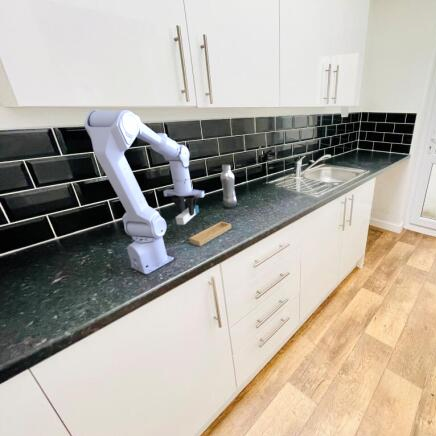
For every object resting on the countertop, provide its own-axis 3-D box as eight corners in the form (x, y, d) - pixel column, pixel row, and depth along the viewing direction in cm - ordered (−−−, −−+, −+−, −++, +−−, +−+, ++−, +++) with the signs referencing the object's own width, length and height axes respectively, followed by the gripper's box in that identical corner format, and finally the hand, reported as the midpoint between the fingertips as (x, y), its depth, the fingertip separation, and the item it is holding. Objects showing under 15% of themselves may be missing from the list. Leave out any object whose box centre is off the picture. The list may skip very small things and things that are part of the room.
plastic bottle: (225, 209, 120) (219, 167, 112) (222, 205, 126) (217, 164, 117) (238, 207, 122) (234, 166, 114) (236, 203, 128) (231, 163, 120)
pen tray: (200, 246, 89) (199, 241, 88) (189, 242, 92) (189, 238, 91) (231, 228, 102) (231, 223, 101) (222, 225, 104) (221, 221, 104)
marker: (184, 224, 91) (183, 217, 90) (176, 224, 92) (175, 217, 90) (199, 211, 102) (198, 205, 101) (192, 211, 102) (191, 204, 101)
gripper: (205, 176, 94) (210, 211, 99) (168, 175, 95) (175, 209, 101) (197, 182, 87) (203, 218, 93) (157, 181, 89) (165, 216, 94)
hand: (188, 214), depth 96 cm, fingers closed on marker, 3 cm apart
